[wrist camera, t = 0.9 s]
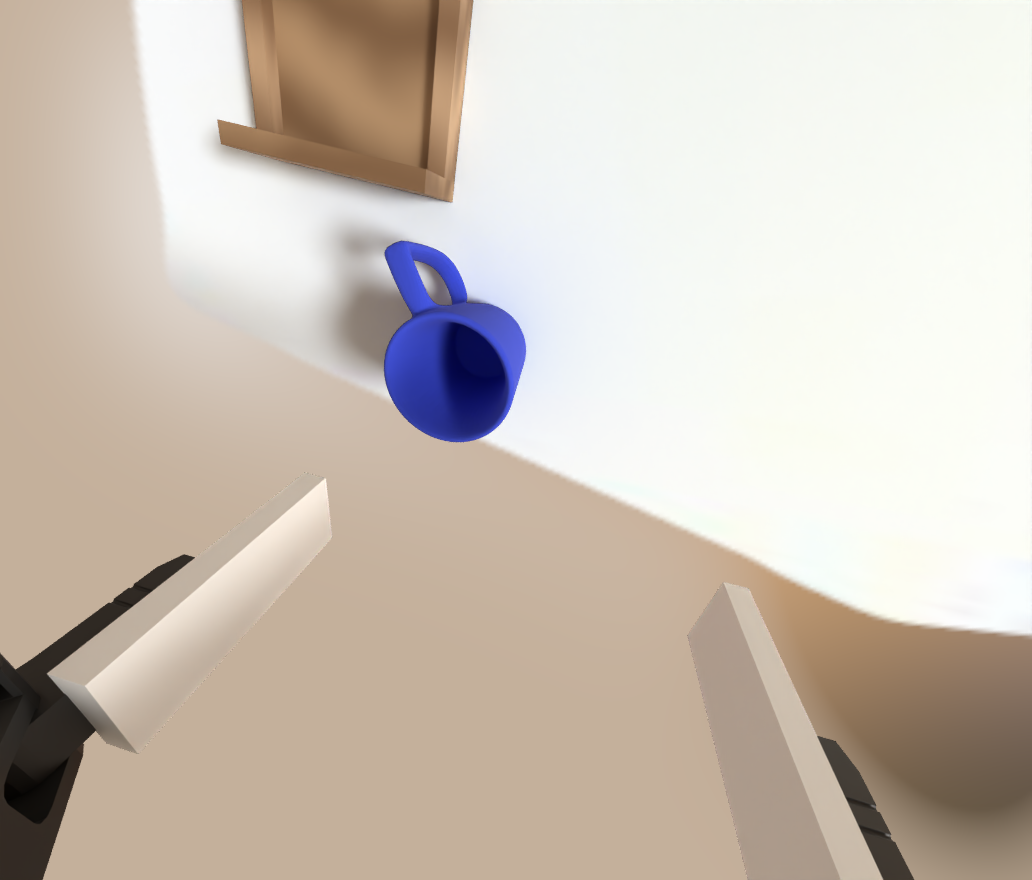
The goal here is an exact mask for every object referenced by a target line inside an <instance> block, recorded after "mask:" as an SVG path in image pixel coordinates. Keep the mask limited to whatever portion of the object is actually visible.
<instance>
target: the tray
mask: <svg viewBox="0 0 1032 880" xmlns="http://www.w3.org/2000/svg"><path fill="white" fill-rule="evenodd" d="M242 6H243V15H244V23H245V32H246V41H247V50H248V59H249V68H250V76H251V85H252V94H253V103H254V112H255V120H256V129H255V128H251V127H247V126H243V125H239V124H235V123H230V122H226V121H222V120H218V119H217V121H218V127H219V134H220V140H221V144H223V145H226V146H230V147H233V148H237V149H241V150H244V151H248V152H251V153H255V154H258V155H262V156H265V157H269V158H273V159H276V160H280V161H284V162H288V163H292V164H296V165H300V166H304V167H308V168H312V169H317V170H321V171H325V172H329V173H333V174H337V175H341V176H345V177H349V178H354V179H358V180H362V181H366V182H370V183H374V184H378V185H382V186H386V187H390V188H395V189H399V190H403V191H407V192H411V193H415V194H419V195H423V196H427V197H432V198H436V199H440V200H444V201H448V202H452V200H453V191H454V181H455V171H456V162H457V152H458V142H459V133H460V123H461V113H462V104H463V94H464V85H465V75H466V65H467V56H468V46H469V36H470V27H471V17H472V8H473V0H242Z"/></svg>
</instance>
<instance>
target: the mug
mask: <svg viewBox="0 0 1032 880" xmlns="http://www.w3.org/2000/svg"><path fill="white" fill-rule="evenodd" d="M385 258H386V261H387V263H388V266H389V268H390V271H391V273H392V276H393V278H394V280H395V282H396V284H397V287H398V289H399V291H400V293H401V295H402V297H403V299H404V301H405V303H406V304H407V306H408V308H409V309H410V311H411V313H412V315H413V316H412V318H411V319H410V320H408V321H407V322H405V323H404V324H403V325H402V326H401V327H400V328H399V329H398V330H397V331H396V332H395V334H394V335H393V337H392V338H391V340H390V342H389V345H388V347H387V350H386V354H385V360H384V375H385V381H386V385H387V389H388V391H389V394H390V396H391V398H392V401H393V402H394V404H395V406H396V407H397V409H398V410H399V411H400V413H401V414H402V415H403V416H404V417H405V418H406V419H407V420H408V422H410V423H411V424H412V425H413V426H415V427H416V428H417V429H419V430H420V431H422V432H424V433H425V434H427V435H429V436H431V437H434V438H437V439H440V440H444V441H450V442H467V441H473V440H476V439H479V438H481V437H484V436H486V435H487V434H489V433H491V432H492V431H493V430H495V429H496V428H497V427H498V426H499V425H500V424H501V423H502V421H503V420H504V419H505V417H506V415H507V414H508V412H509V410H510V407H511V404H512V401H513V398H514V394H515V391H516V388H517V385H518V381H519V378H520V375H521V372H522V368H523V365H524V362H525V356H526V345H525V339H524V336H523V333H522V331H521V329H520V327H519V325H518V324H517V322H516V321H515V320H514V319H513V317H512V316H510V315H509V314H508V313H507V312H505V311H504V310H502V309H500V308H498V307H496V306H493V305H489V304H479V303H466V301H467V293H466V289H465V286H464V283H463V280H462V278H461V276H460V274H459V271H458V270H457V268H456V266H455V265H454V263H453V262H452V261H451V260H450V259H449V258H448V257H447V256H446V255H445V254H443V253H442V252H440V251H438V250H436V249H434V248H431V247H428V246H425V245H422V244H418V243H413V242H409V241H399V242H396V243H394V244H392V245H390V246H389V247H387V249H386V250H385ZM413 260H415V261H419V262H423V263H426V264H428V265H430V266H431V267H433V268H434V269H435V270H436V271H437V272H438V273H439V274H440V275H441V277H442V278H443V280H444V282H445V284H446V286H447V288H448V290H449V293H450V296H451V299H452V305H447V306H444V305H438V304H436V303H434V302H433V301H432V300H431V298H430V297H429V295H428V293H427V291H426V289H425V287H424V285H423V282H422V280H421V278H420V275H419V273H418V271H417V268H416V266H415V263H414V261H413Z"/></svg>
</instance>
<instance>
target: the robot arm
mask: <svg viewBox="0 0 1032 880" xmlns="http://www.w3.org/2000/svg"><path fill="white" fill-rule="evenodd" d="M331 539H332V530H331V521H330V512H329V503H328V494H327V486H326V478H324V477H320V476H316V475H313V474H309V473H305V472H304V473H303V474H302V475H301V476H300V477H298V478H297V479H296V480H294V481H293V482H292V483H290V484H289V485H288V486H287V487H285V488H284V489H283V490H281V491H280V492H279V493H278V494H276V495H275V496H274V497H272V498H271V499H270V500H269V501H267V502H266V503H265V504H264V505H262V506H261V507H260V508H259V509H257V510H256V511H255V512H253V513H252V514H251V515H249V516H248V517H247V518H246V519H244V520H243V521H242V522H241V523H239V524H238V525H237V526H235V527H234V528H233V529H232V530H230V531H229V532H228V533H226V534H225V535H224V536H223V537H221V538H220V539H219V540H218V541H216V542H215V543H214V544H212V545H211V546H210V547H209V548H207V549H206V550H205V551H203V552H202V553H201V554H199V555H198V556H197V557H196V558H195V557H192V556H188V555H182V556H180V557H178V558H175V559H173V560H171V561H169V562H167V563H165V564H163V565H161V566H158V567H157V568H155V569H154V570H153V571H151V572H150V573H149V574H147V575H146V576H144V577H143V578H142V579H140V580H139V581H138V582H136V583H135V584H134V586H133V587H132V588H128V589H127V590H125V591H124V592H123V593H121V594H120V595H118V596H117V597H116V598H114V601H113V602H112V603H108V604H106V605H105V606H103V607H102V608H101V609H99V610H98V611H97V612H95V613H94V614H93V615H91V616H90V617H89V618H87V619H86V620H84V621H83V622H82V623H80V624H79V625H78V626H77V627H75V628H73V629H72V630H71V631H69V632H68V633H67V634H65V635H64V636H63V637H61V638H60V639H58V640H57V641H56V642H54V643H53V644H52V645H50V646H49V647H48V648H46V649H45V650H44V651H42V652H41V653H39V654H38V655H37V656H35V657H34V658H33V659H31V660H30V661H28V662H27V663H25V664H24V665H22V666H20V667H19V668H17V669H16V670H15V669H14V668H13V666H12V665H11V664H10V663H9V662H8V661H7V660H6V659H5V658H4V657H3V656H2V655H1V654H0V880H43V877H44V873H45V871H46V868H47V864H48V861H49V858H50V855H51V852H52V849H53V846H54V843H55V840H56V837H57V834H58V831H59V828H60V824H61V821H62V818H63V815H64V812H65V809H66V806H67V803H68V800H69V797H70V794H71V791H72V788H73V784H74V781H75V778H76V775H77V772H78V769H79V766H80V763H81V760H82V757H83V746H84V744H83V743H84V742H85V740H87V739H88V738H89V737H90V736H91V735H92V734H93V733H94V732H95V731H96V732H97V733H98V734H99V735H100V736H101V737H102V738H103V740H104V741H105V742H106V743H107V744H110V745H113V746H116V747H119V748H122V749H125V750H128V751H131V752H134V753H136V754H139V753H140V752H141V750H142V749H143V748H144V747H145V746H146V745H147V744H148V742H150V740H151V739H152V738H153V737H154V736H155V735H156V733H158V732H159V730H160V729H161V728H162V727H163V726H164V725H165V724H166V723H167V722H168V720H169V719H170V718H171V717H172V716H173V715H174V714H175V713H176V711H177V710H178V709H179V708H180V707H181V706H182V705H183V704H184V703H185V701H186V700H187V699H188V698H189V697H190V696H191V695H192V694H193V692H194V691H195V690H196V689H197V688H198V687H199V686H200V685H201V684H202V682H203V681H204V680H205V679H206V678H207V677H208V676H209V674H210V673H211V672H212V671H213V670H214V669H215V668H216V667H217V666H218V664H219V663H220V662H221V661H222V660H223V659H224V658H225V657H226V656H227V655H228V653H229V652H230V651H231V650H232V649H233V648H234V647H235V646H236V645H237V643H238V642H239V641H240V640H241V639H242V638H243V637H244V636H245V634H246V633H247V632H248V631H249V630H250V629H251V628H252V627H253V626H254V624H255V623H256V622H257V621H258V620H259V619H260V618H261V617H262V615H263V614H264V613H265V612H266V611H267V610H268V609H269V608H270V607H271V605H272V604H273V603H274V602H275V601H276V600H277V599H278V598H279V597H280V595H281V594H282V593H283V592H284V591H285V590H286V589H287V587H289V585H290V584H291V583H292V582H293V581H294V580H295V579H296V577H297V576H298V575H299V574H300V573H301V572H302V571H303V570H304V569H305V568H306V566H307V565H308V564H309V563H310V562H311V561H312V560H313V558H315V556H316V555H317V554H318V553H319V552H320V551H321V550H322V549H323V547H324V546H325V545H326V544H327V543H328V542H329V541H330V540H331ZM687 636H688V639H689V643H690V648H691V652H692V655H693V660H694V664H695V668H696V672H697V676H698V680H699V684H700V688H701V692H702V696H703V700H704V704H705V708H706V712H707V716H708V720H709V724H710V729H711V733H712V737H713V741H714V745H715V749H716V753H717V756H718V761H719V765H720V769H721V773H722V777H723V781H724V785H725V789H726V793H727V797H728V801H729V805H730V809H731V813H732V817H733V822H734V825H735V830H736V834H737V837H738V842H739V846H740V850H741V854H742V858H743V862H744V866H745V870H746V874H747V878H748V880H914V879H913V876H912V875H911V873H910V871H909V869H908V867H907V865H906V863H905V861H904V859H903V857H902V855H901V853H900V851H899V849H898V847H897V845H896V843H895V842H893V841H892V840H891V837H890V835H891V833H890V831H889V829H888V827H887V826H886V824H885V822H884V820H883V818H882V816H881V814H880V812H877V810H876V804H875V802H874V800H873V798H872V796H871V794H870V792H869V790H868V788H867V786H866V784H865V783H864V780H863V779H862V777H861V775H860V773H859V771H858V770H857V769H856V767H855V766H854V765H853V764H852V762H851V761H850V759H849V758H848V757H847V756H846V754H845V753H844V752H843V750H842V749H841V748H840V747H839V745H838V744H837V743H836V741H833V740H830V739H826V738H823V737H819V736H817V735H816V733H815V731H814V729H813V727H812V724H811V722H810V720H809V718H808V716H807V714H806V711H805V709H804V707H803V705H802V703H801V701H800V698H799V696H798V694H797V692H796V690H795V688H794V685H793V683H792V681H791V679H790V677H789V675H788V673H787V670H786V668H785V666H784V664H783V662H782V660H781V657H780V655H779V653H778V651H777V649H776V646H775V644H774V642H773V640H772V638H771V636H770V634H769V631H768V629H767V628H766V625H765V623H764V620H763V618H762V616H761V614H760V612H759V610H758V607H757V605H756V603H755V601H754V599H753V597H752V594H751V592H750V590H749V589H748V588H745V587H741V586H737V585H733V584H730V583H726V582H723V583H722V585H721V586H720V587H719V589H718V590H717V592H716V593H715V595H714V596H713V598H712V599H711V601H710V602H709V604H708V605H707V607H706V608H705V610H704V611H703V613H702V614H701V616H700V617H699V619H698V620H697V622H696V623H695V625H694V626H693V628H692V629H691V631H690V632H689V634H688V635H687Z"/></svg>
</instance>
